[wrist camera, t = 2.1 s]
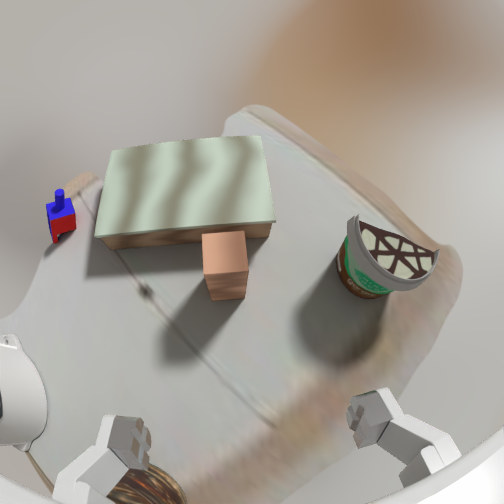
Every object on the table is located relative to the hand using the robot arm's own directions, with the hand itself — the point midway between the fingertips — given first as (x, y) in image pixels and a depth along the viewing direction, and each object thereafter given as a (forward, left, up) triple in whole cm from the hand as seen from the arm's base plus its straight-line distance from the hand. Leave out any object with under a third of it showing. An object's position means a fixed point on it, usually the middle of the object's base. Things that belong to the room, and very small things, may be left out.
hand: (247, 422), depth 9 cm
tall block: (0, +12, -23) cm, 26 cm away
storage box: (-5, +25, -23) cm, 34 cm away
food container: (+18, +10, -23) cm, 31 cm away
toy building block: (-25, +23, -23) cm, 41 cm away
